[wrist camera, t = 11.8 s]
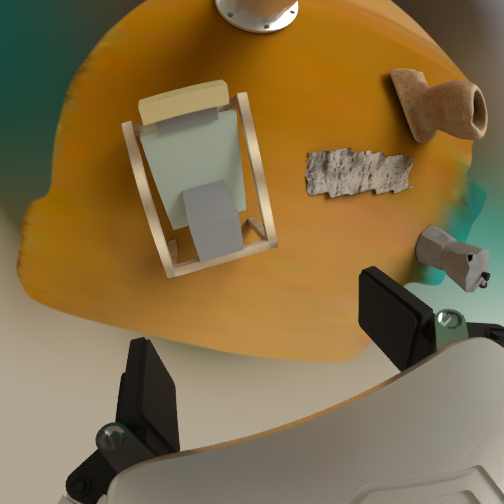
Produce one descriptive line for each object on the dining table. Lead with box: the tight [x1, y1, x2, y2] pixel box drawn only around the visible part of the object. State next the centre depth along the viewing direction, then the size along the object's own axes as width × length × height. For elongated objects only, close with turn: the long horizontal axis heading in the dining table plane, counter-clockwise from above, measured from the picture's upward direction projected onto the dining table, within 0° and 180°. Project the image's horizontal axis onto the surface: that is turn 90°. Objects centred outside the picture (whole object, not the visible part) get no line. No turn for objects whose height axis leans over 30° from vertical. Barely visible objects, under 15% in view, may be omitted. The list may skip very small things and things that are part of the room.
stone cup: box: [390, 68, 487, 143], centre depth 33 cm, size 15×12×15 cm
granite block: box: [182, 180, 244, 262], centre depth 31 cm, size 5×5×7 cm
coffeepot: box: [416, 225, 490, 292], centre depth 45 cm, size 15×9×18 cm, turn 56°
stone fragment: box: [305, 148, 415, 197], centre depth 42 cm, size 25×3×10 cm
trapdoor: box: [138, 79, 247, 230], centre depth 29 cm, size 18×10×3 cm, turn 12°
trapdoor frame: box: [122, 92, 278, 279], centre depth 32 cm, size 18×13×10 cm
